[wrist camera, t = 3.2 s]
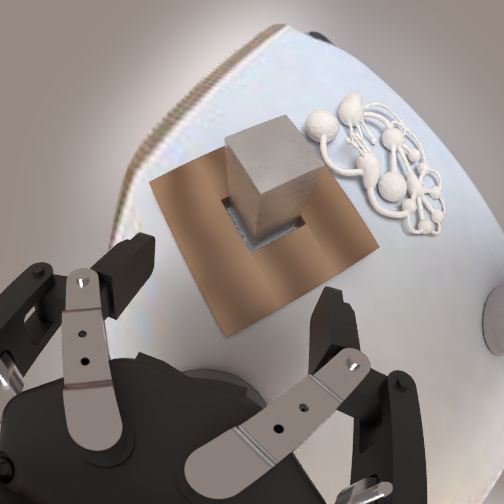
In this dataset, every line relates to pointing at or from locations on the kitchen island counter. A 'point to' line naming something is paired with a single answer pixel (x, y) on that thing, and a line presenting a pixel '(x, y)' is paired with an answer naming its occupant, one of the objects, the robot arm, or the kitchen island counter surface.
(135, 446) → the robot arm
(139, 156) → the kitchen island counter surface
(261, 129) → the steel peg
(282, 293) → the socket block
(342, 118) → the tangled rod sculpture
